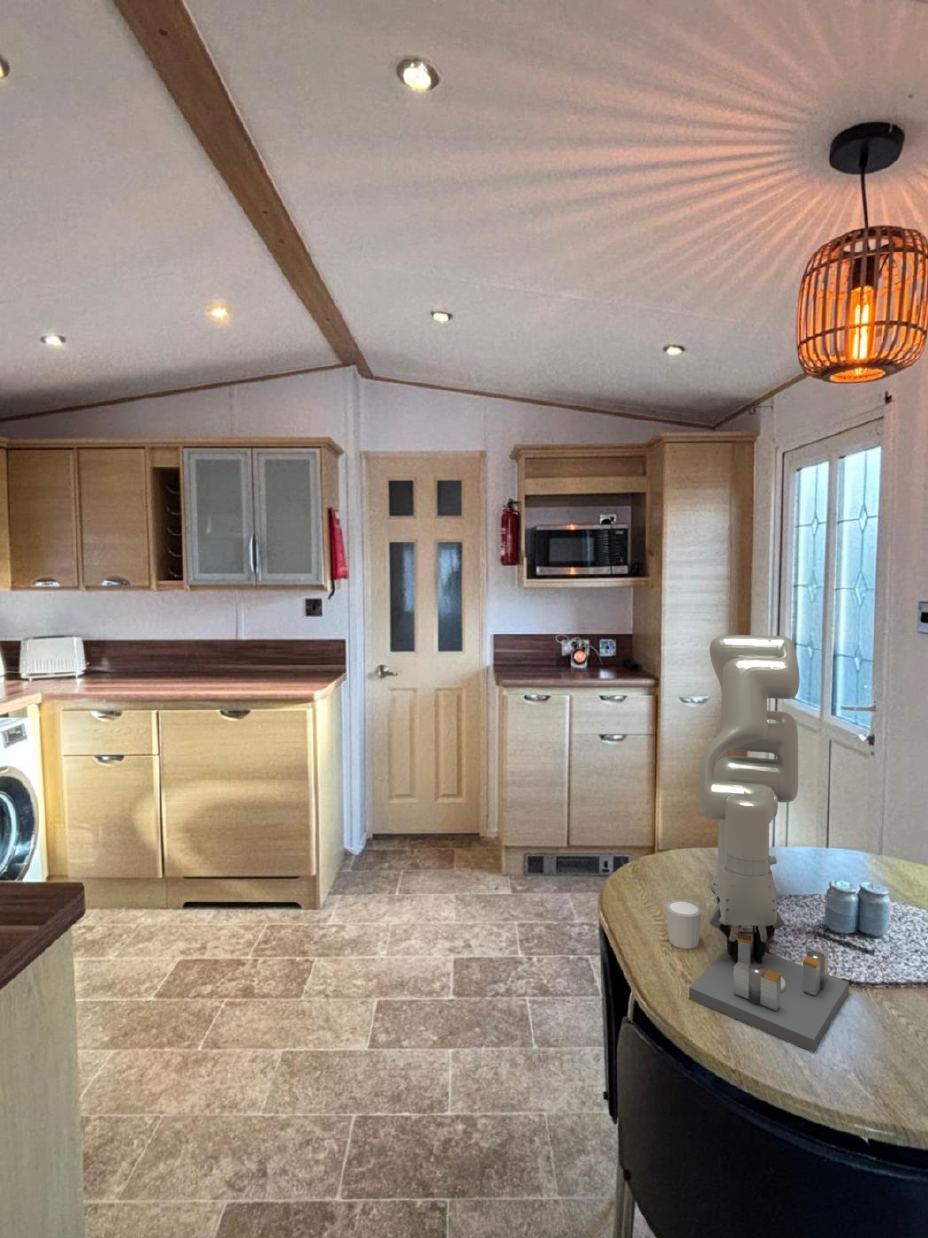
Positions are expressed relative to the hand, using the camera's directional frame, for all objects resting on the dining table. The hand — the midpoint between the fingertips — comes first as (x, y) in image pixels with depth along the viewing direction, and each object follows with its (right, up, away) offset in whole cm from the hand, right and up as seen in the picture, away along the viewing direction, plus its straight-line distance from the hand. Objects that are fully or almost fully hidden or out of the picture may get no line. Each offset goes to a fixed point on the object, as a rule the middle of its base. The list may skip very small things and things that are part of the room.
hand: (745, 957), depth 126 cm
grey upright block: (0, 0, 0) cm, 0 cm away
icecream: (+7, -2, +11) cm, 13 cm away
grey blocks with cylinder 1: (-3, -1, -12) cm, 13 cm away
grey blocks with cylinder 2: (+9, -1, -8) cm, 12 cm away
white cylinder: (-8, -2, +10) cm, 13 cm away
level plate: (+1, -3, -8) cm, 8 cm away
